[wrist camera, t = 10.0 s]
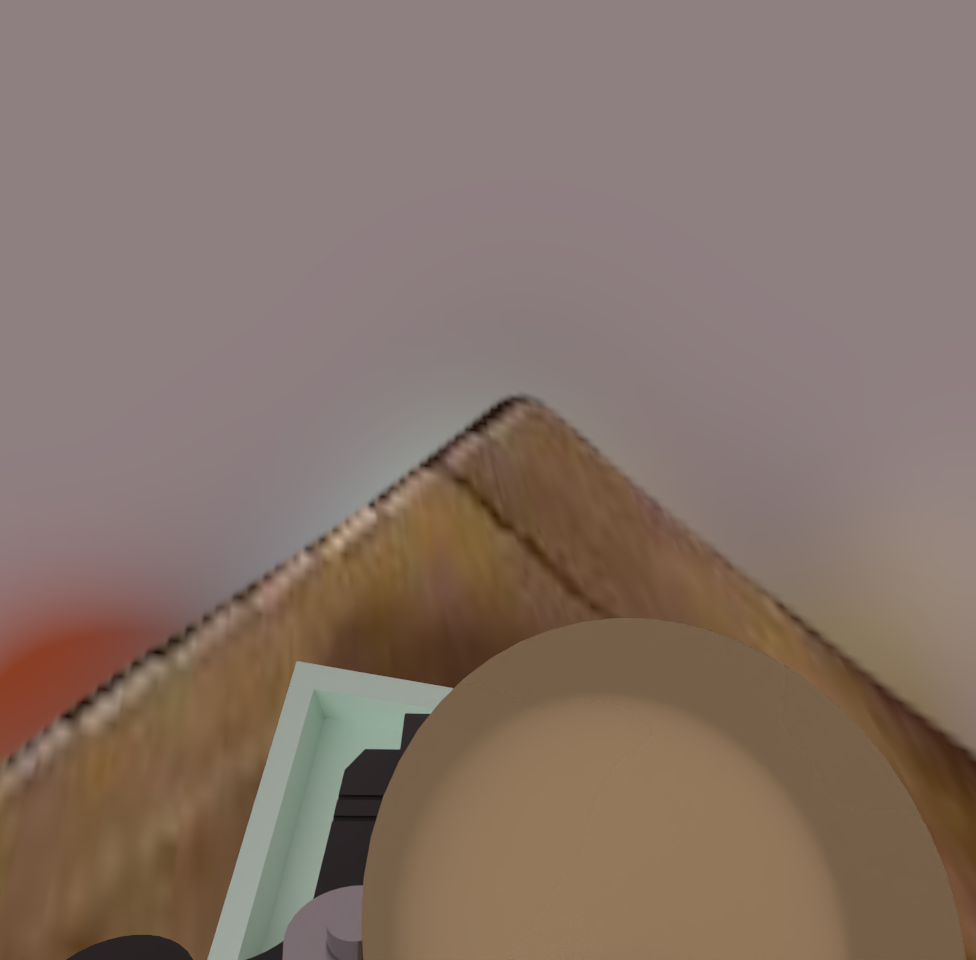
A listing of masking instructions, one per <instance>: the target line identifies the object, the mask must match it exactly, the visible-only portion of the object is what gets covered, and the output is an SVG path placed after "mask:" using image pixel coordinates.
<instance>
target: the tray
mask: <svg viewBox="0 0 976 960" xmlns="http://www.w3.org/2000/svg"><path fill="white" fill-rule="evenodd" d="M453 689H454V688H449V687H444V686H438V685H432V684H426V683H420V682H415V681H409V680H403V679H397V678H391V677H386V676H380V675H374V674H368V673H363V672H357V671H351V670H345V669H339V668H334V667H328V666H322V665H316V664H310V663H305V662H299V661H297V662H296V665H295V669H294V672H293V675H292V679H291V682H290V685H289V689H288V692H287V695H286V699H285V702H284V705H283V709H282V712H281V715H280V719H279V722H278V725H277V729H276V732H275V735H274V739H273V742H272V746H271V749H270V752H269V756H268V759H267V762H266V766H265V769H264V772H263V776H262V779H261V782H260V786H259V789H258V792H257V796H256V799H255V802H254V806H253V809H252V812H251V816H250V819H249V822H248V826H247V829H246V832H245V836H244V839H243V842H242V846H241V849H240V852H239V856H238V859H237V863H236V866H235V869H234V873H233V876H232V879H231V883H230V886H229V889H228V893H227V896H226V899H225V903H224V906H223V909H222V913H221V916H220V919H219V923H218V926H217V929H216V933H215V936H214V939H213V943H212V946H211V949H210V953H209V956H208V959H207V960H246V959H249V958H252V957H254V956H257V955H259V954H261V953H264V952H266V951H268V950H269V949H271V948H273V947H275V946H276V945H278V944H279V943H281V942H282V941H284V935H285V932H286V929H287V927H288V924H289V923H290V921H291V920H292V918H293V917H294V915H295V914H296V913H297V912H298V911H299V910H300V909H301V908H302V907H303V906H304V905H306V904H307V903H308V902H310V901H311V900H313V898H314V894H315V890H316V885H317V881H318V877H319V873H320V869H321V865H322V861H323V857H324V853H325V848H326V844H327V840H328V836H329V832H330V828H331V824H332V821H333V816H334V811H335V807H336V803H337V800H338V797H339V791H340V787H341V783H342V779H343V775H344V770H345V769H346V768H347V767H348V766H349V765H350V764H351V763H352V762H353V761H354V760H355V759H356V758H357V757H358V756H359V755H360V754H361V753H362V752H363V751H364V750H365V749H400V747H401V739H402V732H403V724H404V716H405V713H413V714H431V713H432V711H433V710H434V709H435V708H436V706H437V705H438V704H439V703H440V701H441V700H442V699H444V698H445V697H446V696H447V695H448V694H449V693H450V692H451V691H452V690H453Z"/></svg>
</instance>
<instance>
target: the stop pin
mask: <svg viewBox="0 0 976 960" xmlns="http://www.w3.org/2000/svg"><path fill="white" fill-rule="evenodd" d="M361 930H362V947H363V960H966V957H965V952H964V946H963V941H962V935H961V930H960V924H959V919H958V913H957V910H956V906H955V903H954V899H953V896H952V893H951V889H950V886H949V882H948V879H947V876H946V872H945V869H944V867H943V864H942V862H941V860H940V857H939V855H938V852H937V850H936V847H935V845H934V842H933V840H932V838H931V835H930V833H929V830H928V828H927V827H926V825H925V823H924V821H923V819H922V817H921V815H920V813H919V812H918V810H917V808H916V806H915V804H914V802H913V800H912V798H911V797H910V795H909V793H908V791H907V790H906V788H905V787H904V785H903V784H902V782H901V781H900V779H899V778H898V776H897V775H896V773H895V772H894V771H893V769H892V768H891V766H890V765H889V763H888V762H887V760H886V759H885V757H884V756H883V755H882V754H881V753H880V751H879V750H878V749H877V748H876V747H875V745H874V744H873V743H872V742H871V741H870V739H869V738H868V737H867V736H866V734H865V733H864V732H863V731H862V730H861V728H860V727H859V726H858V725H857V724H856V723H855V722H854V721H853V720H852V719H851V718H849V717H848V716H847V715H846V714H845V713H844V712H843V711H842V710H841V709H840V708H839V707H838V706H837V705H836V704H835V703H834V702H833V701H832V700H831V699H830V698H828V697H827V696H826V695H825V694H823V693H822V692H821V691H820V690H818V689H817V688H816V687H815V686H813V685H812V684H811V683H810V682H809V681H807V680H806V679H805V678H804V677H802V676H800V675H799V674H797V673H796V672H794V671H793V670H791V669H790V668H788V667H786V666H785V665H783V664H782V663H780V662H779V661H777V660H776V659H774V658H772V657H770V656H768V655H766V654H764V653H762V652H760V651H758V650H756V649H754V648H752V647H750V646H748V645H746V644H744V643H742V642H740V641H737V640H735V639H732V638H729V637H727V636H724V635H721V634H718V633H716V632H713V631H710V630H707V629H703V628H698V627H694V626H690V625H686V624H682V623H678V622H671V621H663V620H655V619H647V618H610V619H602V620H593V621H585V622H579V623H575V624H571V625H567V626H563V627H559V628H556V629H552V630H548V631H546V632H543V633H541V634H538V635H536V636H533V637H531V638H528V639H526V640H523V641H521V642H519V643H517V644H515V645H513V646H512V647H510V648H508V649H506V650H505V651H503V652H501V653H499V654H497V655H496V656H494V657H492V658H491V659H489V660H488V661H487V662H485V663H484V664H483V665H481V666H480V667H479V668H477V669H476V670H475V671H473V672H472V673H471V674H469V675H468V676H466V677H465V678H464V679H463V680H462V681H461V682H460V683H459V684H458V685H457V686H456V687H455V688H454V689H453V690H452V691H451V692H450V693H449V694H448V695H447V696H446V697H445V698H444V699H442V700H441V701H440V703H439V704H438V705H437V706H436V708H435V709H434V710H433V711H432V713H431V714H430V715H429V716H428V718H427V719H426V720H425V722H424V723H423V724H422V725H421V727H420V728H419V729H418V731H417V732H416V734H415V736H414V737H413V739H412V740H411V742H410V744H409V745H408V747H407V749H406V750H405V752H404V754H403V755H402V757H401V759H400V760H399V762H398V764H397V767H396V769H395V771H394V773H393V776H392V778H391V780H390V782H389V785H388V787H387V789H386V792H385V794H384V796H383V799H382V802H381V805H380V809H379V812H378V815H377V818H376V822H375V825H374V828H373V832H372V835H371V840H370V845H369V851H368V856H367V862H366V868H365V873H364V881H363V898H362V915H361Z"/></svg>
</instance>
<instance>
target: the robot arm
mask: <svg viewBox="0 0 976 960" xmlns="http://www.w3.org/2000/svg"><path fill="white" fill-rule="evenodd" d="M429 715H430V714H413V713H405V716H404V724H403V732H402V739H401V747H400V749H365V750H364V751H363V752H362V753H361V754H360V755H359V756H358V757H357V758H356V759H355V760H354V761H353V762H352V763H351V764H350V765H349V766H348V767H347V768H346V769H345V770H344V775H343V779H342V783H341V787H340V791H339V797H338V800H337V803H336V807H335V811H334V816H333V821H332V824H331V828H330V832H329V836H328V840H327V844H326V848H325V853H324V857H323V861H322V865H321V869H320V873H319V877H318V881H317V885H316V890H315V894H314V898H313V900H311V901H310V902H308V903H307V904H306V905H304V906H303V907H302V908H301V909H300V910H299V911H298V912H297V913H296V914H295V915H294V917H293V918H292V920H291V921H290V923H289V924H288V927H287V929H286V932H285V935H284V941H282V942H281V943H279V944H278V945H276V946H275V947H273V948H271V949H269V950H268V951H266V952H264V953H261V954H259V955H257V956H254V957H252V958H249V959H246V960H363V947H362V930H361V915H362V898H363V881H364V873H365V868H366V862H367V856H368V851H369V845H370V840H371V835H372V832H373V828H374V825H375V822H376V818H377V815H378V812H379V809H380V805H381V802H382V799H383V796H384V794H385V792H386V789H387V787H388V785H389V782H390V780H391V778H392V776H393V773H394V771H395V769H396V767H397V764H398V762H399V760H400V759H401V757H402V755H403V754H404V752H405V750H406V749H407V747H408V745H409V744H410V742H411V740H412V739H413V737H414V736H415V734H416V732H417V731H418V729H419V728H420V727H421V725H422V724H423V723H424V722H425V720H426V719H427V718H428V716H429ZM67 960H193V959H192V957H191V956H190V955H189V953H188V952H187V951H186V950H185V949H184V948H183V947H182V946H181V945H179V944H178V943H176V942H174V941H172V940H170V939H166V938H163V937H160V936H152V935H131V936H123V937H118V938H114V939H110V940H106V941H104V942H101V943H98V944H95V945H93V946H90V947H88V948H86V949H84V950H82V951H80V952H78V953H77V954H75V955H73V956H72V957H70V958H68V959H67Z"/></svg>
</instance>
